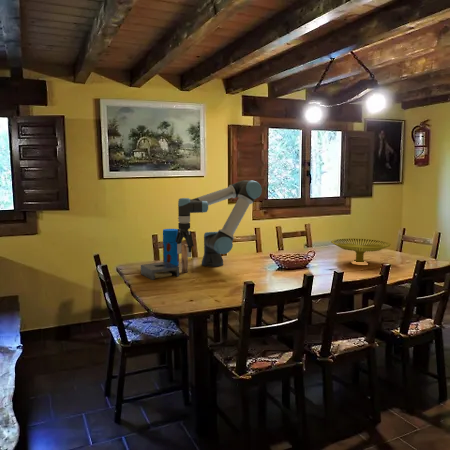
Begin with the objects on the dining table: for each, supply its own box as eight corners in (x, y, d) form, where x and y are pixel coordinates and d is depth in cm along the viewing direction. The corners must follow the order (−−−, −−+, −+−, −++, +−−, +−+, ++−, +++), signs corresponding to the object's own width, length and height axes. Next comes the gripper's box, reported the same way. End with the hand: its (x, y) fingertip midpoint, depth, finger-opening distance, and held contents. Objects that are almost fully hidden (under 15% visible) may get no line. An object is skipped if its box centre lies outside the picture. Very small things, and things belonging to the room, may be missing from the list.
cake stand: (318, 263, 315) (319, 242, 313) (350, 255, 342) (350, 236, 340) (370, 273, 286) (371, 250, 284) (400, 264, 313) (401, 243, 311)
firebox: (166, 270, 291) (166, 261, 290) (179, 276, 276) (179, 266, 275) (140, 274, 281) (140, 264, 280) (152, 280, 266) (152, 270, 265)
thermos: (176, 267, 299) (175, 231, 296) (161, 267, 301) (160, 230, 298) (180, 264, 310) (180, 228, 307) (166, 263, 312) (165, 228, 309)
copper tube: (186, 271, 289) (185, 244, 287) (188, 272, 286) (188, 244, 284) (180, 271, 287) (180, 244, 285) (183, 273, 284) (183, 245, 282)
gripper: (170, 220, 291) (170, 252, 294) (188, 225, 270) (188, 259, 273) (180, 220, 295) (180, 251, 298) (199, 224, 274) (199, 258, 277)
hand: (184, 255), depth 285 cm, fingers open, 13 cm apart
